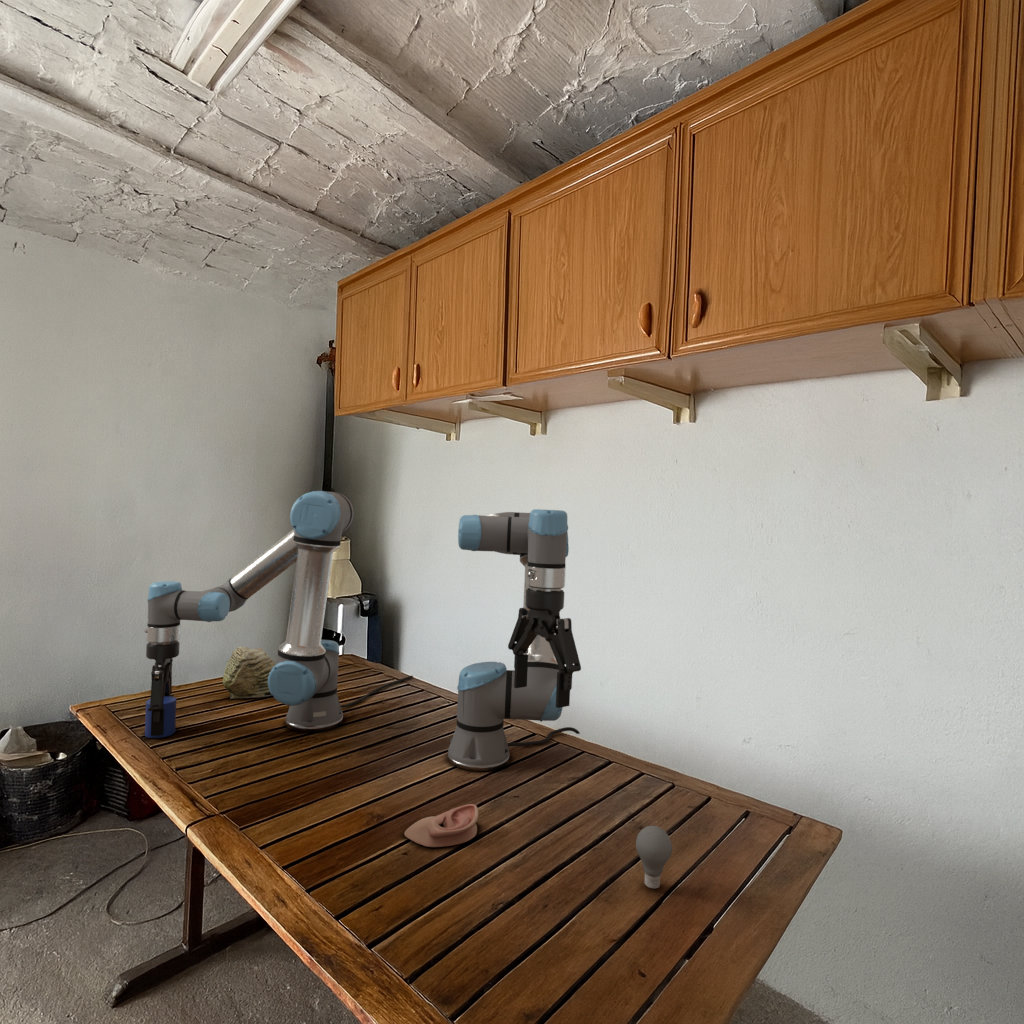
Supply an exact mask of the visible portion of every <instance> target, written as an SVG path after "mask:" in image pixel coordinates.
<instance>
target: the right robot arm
mask: <svg viewBox="0 0 1024 1024" xmlns="http://www.w3.org/2000/svg"><path fill="white" fill-rule="evenodd" d="M568 530H569V524H568V513H567V512H566V511H565V510H559V509H540V508H539V509H538V508H537V509H535V508H534V509H532V510H531V511H530V512H516V511H503V512H497V513H490V514H487V515H481V514H479V515H478V514H464V515H461V517H460V518H459V522H458V530H457V533H458V534H457V539H458V540H457V544H458V547H459V548H460V549H461V550H463V551H471V552H494V553H499V554H503V555H504V554H505V555H513V556H519V562H520V564H522V566H523V567H524V581H523V582H524V583H523V585H524V586H523V607H520V608H519V609H518V613H517V614H518V615H517V620H516V623H515V625H514V628H513V631H512V634H511V637H510V639H509V641H508V645H507V648H508V650H511V651H512V654H513V656H514V661H513V669H514V670H512V669H511V670H510V669H508V668H507V665H506V664H505V663H504V662H501V661H499V662H498V661H482V662H476V663H472V664H469V665H467V666H464V667H463V668H462V669H461V670H460V672H459V674H458V681H457V682H458V683H457V687H456V690H457V707H456V727H455V730H454V733H453V736H451V737H450V738H449V743H450V744H449V746H448V749H447V760H448V762H449V763H450V764H451V765H452V766H454V767H456V768H459V769H462V770H466V771H473V772H486V771H487V772H488V771H494V770H497V769H501V768H503V767H505V766H506V765H508V763H509V762H510V749H509V748H510V747H528V746H537V745H542V744H543V745H544V744H546V743H548V742H549V741H550V739H551V737H552V736H554V735H558V734H560V733H563V732H573V733H575V734H576V735H580V734H581V732H580V731H579V730H578V729H577V728H575V727H571V726H570V727H569V726H566V727H561V728H558V729H555V730H553V731H550V732H548V733H547V735H546V737H545V738H543V739H540V740H534V741H532V740H531V741H521V742H520V741H519V742H518V741H517V742H516V741H515V742H508V740H507V738H506V733H505V730H504V721H505V720H519V721H520V720H522V721H538V722H541V723H542V722H555V721H557V720H558V719H559V718H560V717H561V715H562V712H563V708H565V707H570V701H571V700H570V698H571V690H572V689H573V673H575V672H580V671H581V670H582V666H581V662H580V657H579V653H578V649H577V646H576V642H575V638H574V633H573V628H572V627H573V626H572V619H571V618H570V617H565V618H561V611H562V610H563V609H564V607H565V591H564V590H563V589H564V588H565V587H566V570H567V569H566V568H567V567H566V561H567V560H566V559H567V557H568V556H569V551H570V547H569V532H568Z"/></svg>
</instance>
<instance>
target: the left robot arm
mask: <svg viewBox="0 0 1024 1024" xmlns="http://www.w3.org/2000/svg"><path fill="white" fill-rule="evenodd" d="M289 512H290V513H289V520H290V525H291V527H292V528H293V529H291V530H290V531H289V532H287V534H285V535H284V536H282V537H281V538H280V539H278V541H276V542H275V543H273V544H272V545H270V547H269V548H267V549H266V550H265V551H263V552H262V553H260V554H259V555H258V556H257V557H256V558H254V559H252V561H250V562H249V563H247V564H246V565H245V566H244V567H242V568H241V569H240V570H238V571H237V572H236V573H235V574H233V575H232V576H231V577H230V578H228V579H227V580H225V582H223V583H222V584H221V585H219V586H216V587H213V588H209V589H205V590H199V591H197V590H183V586H182V583H181V582H179V581H176V580H175V581H174V580H164V581H162V580H161V581H154V582H152V583H151V584H150V585H149V587H148V595H147V599H146V600H147V624H146V625H147V626H146V627H147V628H146V629H144V633H146V641H147V643H146V649H145V655H146V658H147V659H148V660H153V661H154V665H152V668H151V672H150V674H151V675H150V676H151V683H150V699H151V700H150V708H149V709H148V711H152V715H151V736H158V735H163V732H164V709H163V708H164V707H163V704H164V696H172V697H175V695H174V694H173V688H172V687H173V662H174V658H177V657H178V656H179V654H180V642H179V640H180V639H181V621H195V622H207V623H211V622H222V621H224V620H225V619H226V617H227V616H228V614H229V613H231V612H235V611H237V610H238V609H240V608H242V607H243V606H244V605H245V604H246V602H247V600H249V599H250V598H251V597H252V596H253V595H255V594H256V593H257V592H259V591H260V590H261V589H263V588H264V587H266V585H268V584H269V583H271V582H272V581H273V580H274V579H276V578H277V577H278V576H280V575H281V574H283V572H285V571H286V570H287V569H290V567H291V566H293V565H294V564H295V563H296V564H295V570H294V577H293V585H292V593H291V600H290V608H289V615H288V623H287V629H286V637H285V641H284V642H282V643H281V644H280V645H279V646H278V647H277V648H278V649H277V656H276V663H275V666H274V667H273V668H272V670H271V672H270V674H269V676H268V688H269V691H270V693H271V694H272V697H273V698H274V699H275V700H276V701H277V702H279V703H281V704H283V705H286V706H289V708H288V711H287V713H286V715H285V726H286V728H287V729H289V730H291V731H294V732H295V731H296V732H301V733H316V732H325V731H329V730H332V729H335V728H337V727H339V726H340V725H342V723H343V722H344V714H343V709H344V708H347V707H348V708H349V707H350V706H353V705H356V704H358V703H359V702H362V701H363V700H365V699H367V698H368V697H370V696H371V695H372V694H374V693H376V692H378V691H380V690H382V689H385V688H386V687H389V686H392V685H394V684H397V683H401V682H403V681H407V680H410V679H412V678H414V675H412V674H411V675H408V676H405V677H403V678H399V679H396V680H394V681H391V682H388V683H385V684H383V685H381V686H379V687H377V688H374V689H373V690H371V691H369V692H368V693H367V694H365V695H364V696H362V697H360V698H358V699H356V700H354V701H351V702H349V703H346V704H345V703H344V704H341V702H340V699H339V695H338V682H339V681H338V680H339V678H338V677H339V662H340V661H339V660H340V659H339V657H340V645H339V643H338V642H337V641H335V640H330V639H322V637H323V630H324V629H323V628H324V623H325V616H326V615H325V614H326V608H327V599H328V594H329V593H328V592H329V585H330V577H331V571H332V563H333V556H334V552H335V551H336V550H338V549H339V548H340V547H341V543H342V537H343V532H345V531H346V530H348V528H349V527H350V526H351V525H352V522H353V520H354V515H355V514H354V512H355V511H354V507H353V504H352V502H351V500H350V499H349V498H347V496H345V495H344V494H342V493H340V492H336V491H325V490H313V491H309V492H306V493H304V494H302V495H301V496H299V497H298V498H297V499H296V500H295V501H294V503H293V504H292V506H291V509H290V511H289ZM342 708H343V709H342Z"/></svg>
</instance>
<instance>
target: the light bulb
mask: <svg viewBox="0 0 1024 1024" xmlns="http://www.w3.org/2000/svg"><path fill="white" fill-rule="evenodd" d="M635 848H636V849H635V850H636V852H637V854H638V857H639V858H640V860H641V863H642V869H643V872H644V879H643V880H644V885H645V886H647V887H648V888H650V889H658V888H660V886H661V875H662V874H663V871H664V867H665V866H666V863H668V861H669V860H670V858H671V855H672V852H673V842H672V840H671V838H670V836H669V834H668V832H666V831H665V829H663V828H662V827H660V826H657V825H648V826H645V827H643V828H642V829H641V830H640V831H639V832H638V833H637V835H636V839H635Z"/></svg>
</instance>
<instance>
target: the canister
mask: <svg viewBox="0 0 1024 1024" xmlns="http://www.w3.org/2000/svg"><path fill="white" fill-rule="evenodd" d="M150 700H151V698H149V699H147V700H146V701H145V714H144V715H145V716H144V736H145V737H146V738H150V739H160V738H167V737H169V736H172V735H174V734H175V733H176V724H177V697H175V696H173V697H172V696H164V704H163V707H164V708H163V709H164V732H163V735H158V736H151V715H152V711H148V709H149V708H150Z"/></svg>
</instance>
